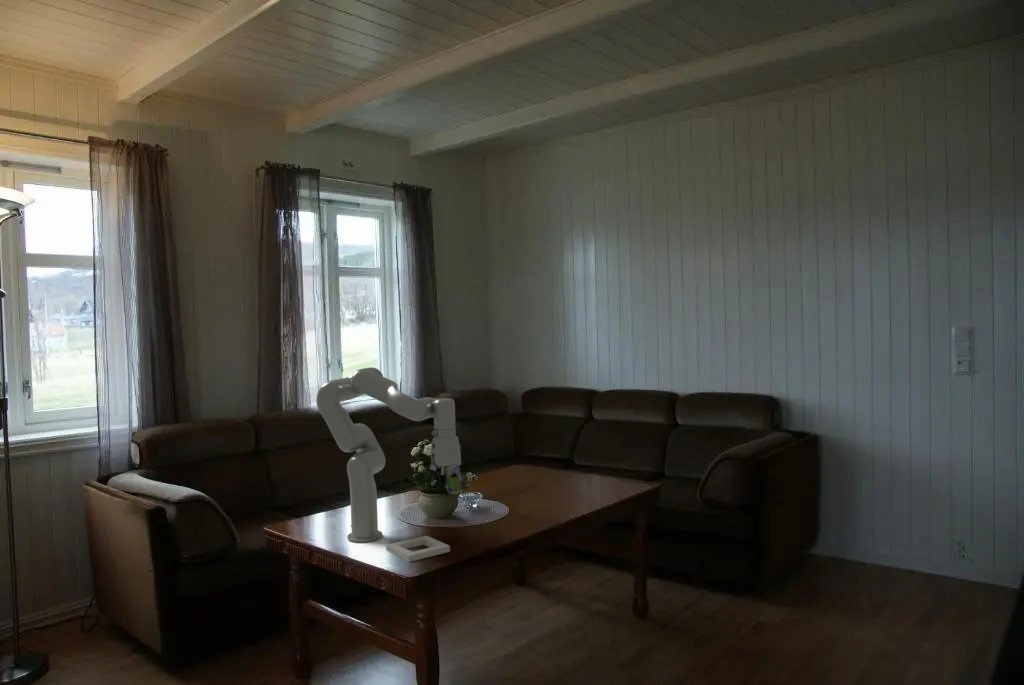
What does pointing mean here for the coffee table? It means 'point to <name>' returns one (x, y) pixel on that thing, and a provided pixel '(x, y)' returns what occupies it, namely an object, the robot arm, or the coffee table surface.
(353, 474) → the robot arm
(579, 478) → the coffee table surface
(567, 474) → the coffee table surface
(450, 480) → the beverage can
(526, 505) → the coffee table surface
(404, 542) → the can holder
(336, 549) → the coffee table surface
